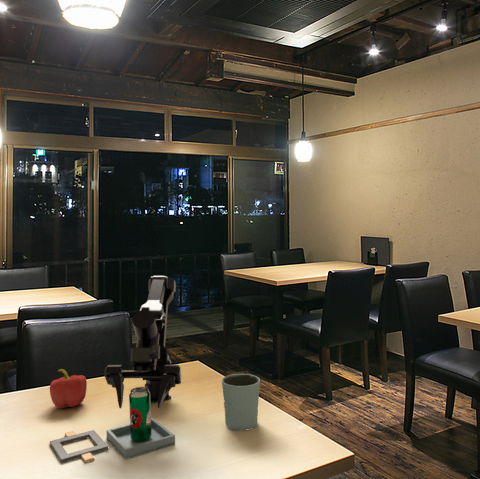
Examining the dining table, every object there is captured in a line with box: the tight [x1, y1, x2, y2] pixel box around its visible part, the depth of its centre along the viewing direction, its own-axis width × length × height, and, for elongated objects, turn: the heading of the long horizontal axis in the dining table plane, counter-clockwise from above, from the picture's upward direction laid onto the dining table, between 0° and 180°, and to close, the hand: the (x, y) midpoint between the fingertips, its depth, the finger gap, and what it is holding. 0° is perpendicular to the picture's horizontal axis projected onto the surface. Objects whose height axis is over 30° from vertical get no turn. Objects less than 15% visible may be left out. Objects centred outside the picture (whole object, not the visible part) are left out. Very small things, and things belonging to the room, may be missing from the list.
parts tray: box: [106, 417, 176, 460], centre depth 109 cm, size 12×12×2 cm
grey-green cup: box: [221, 373, 261, 431], centre depth 120 cm, size 10×10×12 cm
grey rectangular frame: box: [49, 429, 109, 464], centre depth 107 cm, size 11×17×1 cm, turn 36°
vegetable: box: [49, 368, 88, 409], centre depth 132 cm, size 11×10×10 cm
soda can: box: [128, 386, 152, 442], centre depth 110 cm, size 5×5×12 cm
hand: (139, 407), depth 108 cm, fingers open, 9 cm apart
